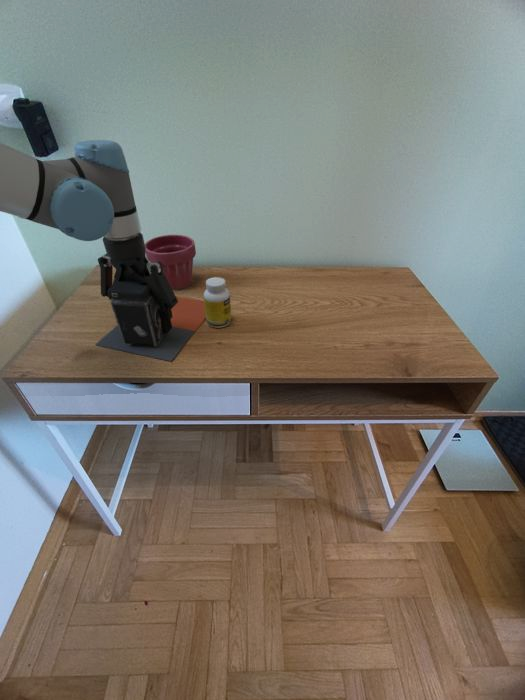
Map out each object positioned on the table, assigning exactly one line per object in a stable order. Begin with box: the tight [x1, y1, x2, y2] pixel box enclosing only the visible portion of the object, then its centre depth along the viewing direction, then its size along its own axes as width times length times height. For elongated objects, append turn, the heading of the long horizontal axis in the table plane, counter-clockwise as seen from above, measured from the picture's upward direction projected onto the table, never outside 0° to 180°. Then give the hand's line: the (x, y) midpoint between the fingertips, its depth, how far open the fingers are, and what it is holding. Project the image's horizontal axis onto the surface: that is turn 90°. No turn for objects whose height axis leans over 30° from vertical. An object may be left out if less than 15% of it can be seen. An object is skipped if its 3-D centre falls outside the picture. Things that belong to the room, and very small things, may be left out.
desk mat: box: [95, 296, 206, 363], centre depth 83 cm, size 20×26×1 cm
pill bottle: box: [203, 276, 232, 329], centre depth 80 cm, size 6×6×12 cm
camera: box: [107, 275, 165, 347], centre depth 74 cm, size 10×10×15 cm
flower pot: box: [144, 234, 197, 291], centre depth 96 cm, size 14×14×13 cm
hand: (146, 326), depth 77 cm, fingers closed on camera, 11 cm apart
